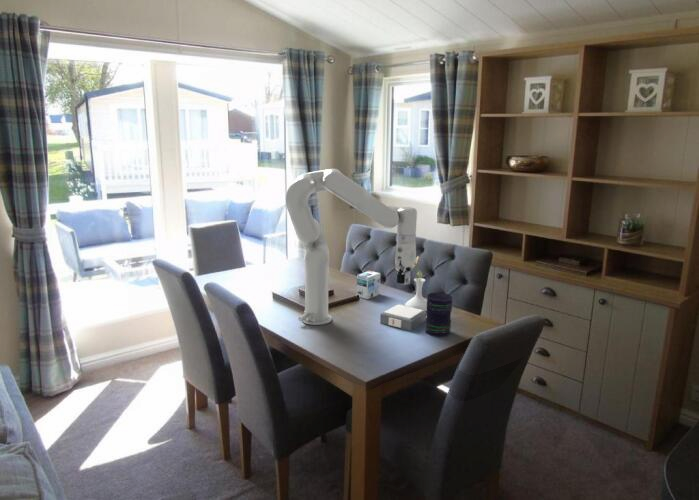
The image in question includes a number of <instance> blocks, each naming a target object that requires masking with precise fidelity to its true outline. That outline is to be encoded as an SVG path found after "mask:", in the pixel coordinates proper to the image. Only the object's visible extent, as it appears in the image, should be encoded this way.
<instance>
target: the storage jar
mask: <svg viewBox="0 0 699 500" xmlns="http://www.w3.org/2000/svg"><path fill="white" fill-rule="evenodd" d="M426 300H427V311H426V321H425V322H424V323H425V330H424V331H425V334H427V335H428V336H431V337H434V338H435V337H436V338H444V337H448V336H449V335H450V333H451V326H452V325H451V324H452V320H451V316H452V314H451V313H452V310H453V296H452V295H451V294H449V293H444V292H430V293H428V294H427V299H426Z"/></svg>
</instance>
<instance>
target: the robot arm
mask: <svg viewBox="0 0 699 500" xmlns="http://www.w3.org/2000/svg"><path fill="white" fill-rule="evenodd" d="M326 191H328V192H330V193H331V194H333V195H335V197H337V198H339V199H340V200H342V201H343V202H345V203H347V204H348V205H349V206H351V207H353V208H354V209H356V210H357V211H358V212H360V213H362V214H364V215H365V216H366V217H368V218H369V219H371V220H372V221H373V222H375V223H377V224H379V225H380V226H382V227H384V228H386V229H392V228H393V229H394V228H397V230H396V242H397V243H396V249H395V250H396V251H395V263H394V264H395V267H394V269H395V270H396V274H397V275H396V283H397V284H399V283H400V284H399V285H402V284H404V283H405V274H404V271H405V270H410V271H411V272H413V269H412V266H413V265H414V264H415V263H416V258H417V250H416V249H417V246H416V237H417V236H416V235H417V234H416V233H417V220H418V219H417V218H418V216H417V215H418V212H417V209H416V208H415V207H410V206H402V207H401V206H400V207H398V206H391V205H386V204H384V203H383V202H382V201H380V200H378V199H377V198H376V197H375V196H373V195H372V194H371V193H370V191H368V190H367V189H366V188H365V187H364V186H362V185H360V184H358V183H357V182H356V181H354V180H352V179H351V178H349V177H347V176H346V175H345V174H343V173H342V172H341V171H340V170H339V169H337V168H328V169H322V170H316V171H310V172H305V173H302V174H300V175H298V176H297V177H296V178H295V180H294V181H293V182H291V184H290V185H289V187H288V189H287V190H286V193H285V205H286V209H287V212H288V214H289V218H290V220H291V223H292V226H293V228H294V231H295V235H296V237H297V239H298V240H299V242H301V243H302V245H303V248H304V250H305V255H304V285H305V286H304V311H303V314H302V315H300V316H298V321H299V322H301V323H304V324H306V325H311V326H322V325H323V326H324V325H326V324H329V323H330V322H332V320H333V317H332V316H331V315H330V314H329V285H330V284H329V282H330V281H329V278H330V277H329V275H330V272H329V270H330V268H329V267H330V248H329V245H328V243H327V241H326V240H327V239H326V238H325V235H324V232H323V230H322V227H321V225H320V223H319V221H318V220H317V219H315V218H314V215H313V214H312V209H311V208H310V205H309V203H308V200H309V198H310V196H311V195H312V194H315V193H320V192H321V193H322V192H326ZM396 226H397V227H396ZM411 280H412V275H411V276H410V281H411Z"/></svg>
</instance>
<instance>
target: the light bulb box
mask: <svg viewBox="0 0 699 500" xmlns="http://www.w3.org/2000/svg"><path fill="white" fill-rule="evenodd" d="M356 276H357V277H356V296H357V295H359V297H358V298H361V299H364V300H365V299H366V300H369V299H372V298H374V297H377V296H379V295H380V294H381V291H380V290H381V272H376V271H372V270H367V271H365V272H362V273H358V274H357V275H356Z"/></svg>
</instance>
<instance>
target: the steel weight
mask: <svg viewBox="0 0 699 500" xmlns="http://www.w3.org/2000/svg"><path fill="white" fill-rule="evenodd" d="M404 274H405V283H404V284H400V283H398V284H399V285H403V286H406V285H410V284H411V280H410V276H411V277H412V271H410V270H405V271H404Z"/></svg>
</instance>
